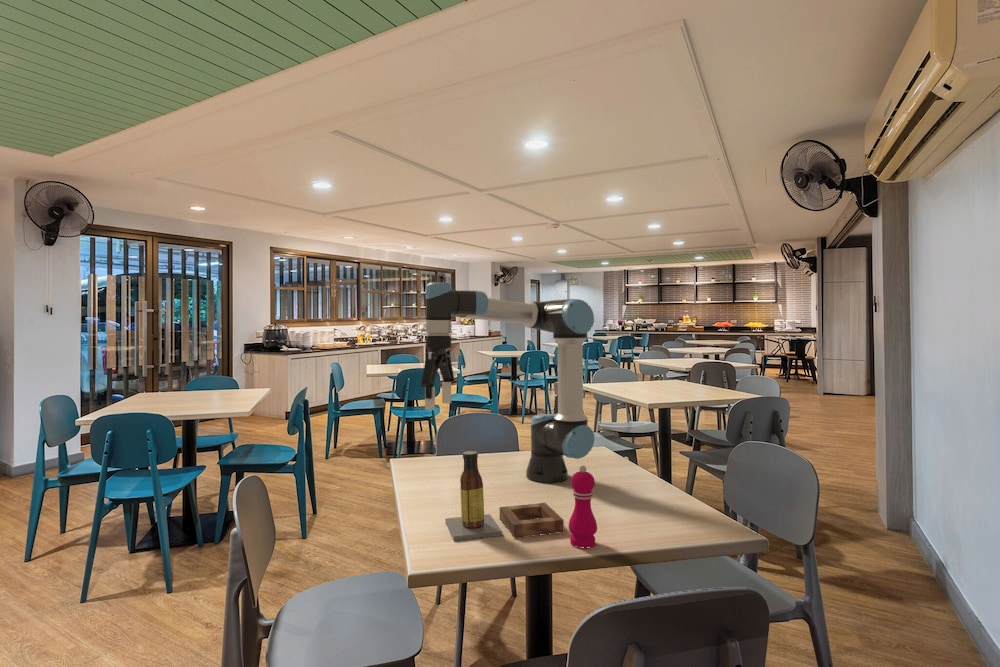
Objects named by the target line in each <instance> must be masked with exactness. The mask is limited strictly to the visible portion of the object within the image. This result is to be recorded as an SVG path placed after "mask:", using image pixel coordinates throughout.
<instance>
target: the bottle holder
mask: <svg viewBox="0 0 1000 667" xmlns="http://www.w3.org/2000/svg"><path fill="white" fill-rule="evenodd" d="M537 518H539V519H537ZM528 519H530V520H528ZM500 520H501V521H502V522H501V521H500ZM499 521H500V522H501V523H502V524H504V525H505V526H504V525H503V526H504V527H505V529H506V528H507V529H508V530H509V531H508V530H507V529H506V530H507V531H508V533H509V532H510V533H511V534H512V535H511V534H510V533H509V534H510V535H511V537H512V536H513V537H521V538H525V537H524V536H529V537H533V536H532V535H538V536H541V535H540V534H547V535H550V534H549V533H556V532H565V531H564V530H565V529H564V527H565V525H564V522H565V521H564V519H563V517H561V516H560V515H559V514H558V513H557V512H556V511H555V510H553V508H552V507H550V506H549V505H548V503H546V502H541V503H530V504H521V505H520V504H519V505H507V506H500V507H499ZM556 534H557V533H556ZM513 537H512V538H513Z"/></svg>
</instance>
